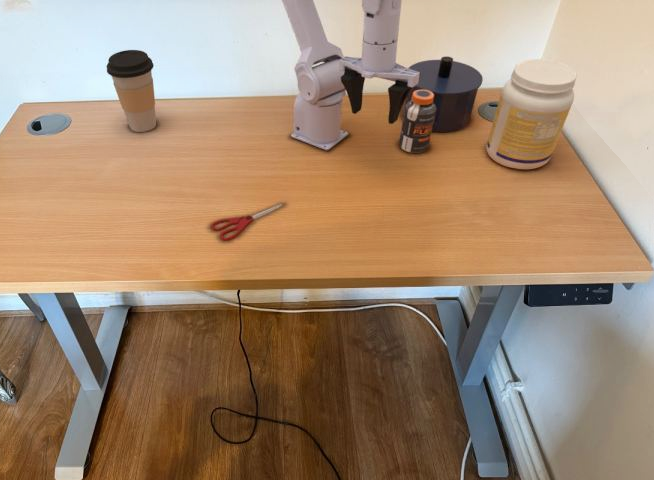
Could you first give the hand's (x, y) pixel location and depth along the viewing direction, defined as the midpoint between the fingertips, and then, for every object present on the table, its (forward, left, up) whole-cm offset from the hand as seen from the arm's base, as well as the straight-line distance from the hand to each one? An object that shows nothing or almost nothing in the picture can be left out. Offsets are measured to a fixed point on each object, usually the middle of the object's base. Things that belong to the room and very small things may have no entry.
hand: (374, 116), depth 97 cm
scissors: (-8, -27, -11) cm, 30 cm away
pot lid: (+2, +25, -2) cm, 25 cm away
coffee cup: (-48, -16, -11) cm, 52 cm away
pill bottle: (+4, +11, -11) cm, 16 cm away
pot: (+2, +25, -10) cm, 27 cm away
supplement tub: (+22, +20, -11) cm, 32 cm away
